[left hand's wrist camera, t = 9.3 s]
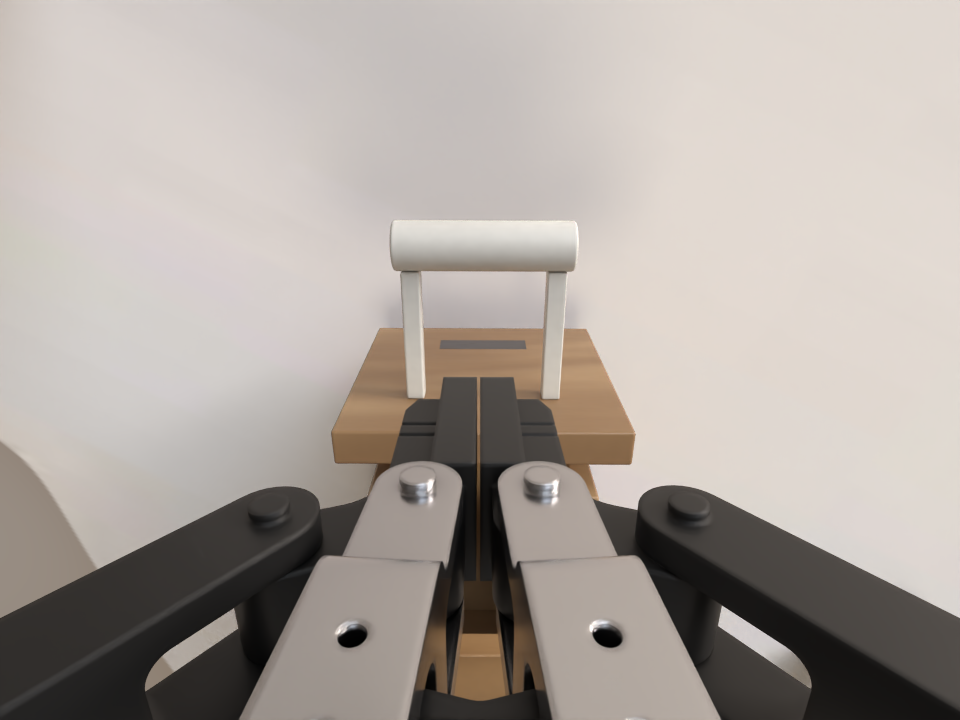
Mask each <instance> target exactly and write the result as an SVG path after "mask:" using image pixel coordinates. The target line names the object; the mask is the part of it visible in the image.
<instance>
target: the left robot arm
mask: <svg viewBox="0 0 960 720" xmlns="http://www.w3.org/2000/svg"><path fill="white" fill-rule="evenodd" d="M476 546H477V377H443V383H442V389H441V396H440V399H418V400H417V401H416V402H414V403H413V404H412V405H411V406H410V407H408V408H407V409H406V410H405V414H404V417H403V421H402V425H401V428H400V432H399V436H398V439H397V443H396V446H395V450H394V453H393V457H392V461H391V464H390V468H389V469H388V470H386V471H385V472H383V473H382V474H381V475H380V476H379V477H378V478H377V480H376V481H375V483H374V485H373V488H372V490H371V492H370V494H369V496H367V497H365V498H363V499H361V500H358V501H355V502H353V503H349V504H345V505H341V506H336V507H331V508H326V509H321V510H320V506H319V501H318V499H317V498H316V496H315V495H314V494H312V493H311V492H309V491H307V490H305V489H301V488H297V487H273V488H267V489H263V490H259V491H256V492H253V493H251V494H248V495H246V496H244V497H242V498H240V499H238V500H236V501H234V502H232V503H230V504H228V505H226V506H224V507H222V508H220V509H218V510H216V511H214V512H212V513H210V514H208V515H206V516H204V517H202V518H200V519H198V520H196V521H194V522H192V523H190V524H188V525H186V526H184V527H182V528H180V529H178V530H176V531H174V532H172V533H170V534H168V535H166V536H164V537H162V538H160V539H158V540H156V541H154V542H152V543H150V544H148V545H146V546H144V547H142V548H140V549H138V550H136V551H134V552H132V553H130V554H128V555H126V556H124V557H122V558H120V559H118V560H116V561H114V562H112V563H110V564H108V565H106V566H104V567H102V568H100V569H98V570H96V571H94V572H92V573H90V574H88V575H86V576H84V577H82V578H80V579H78V580H76V581H74V582H72V583H70V584H68V585H66V586H64V587H62V588H60V589H58V590H56V591H54V592H52V593H50V594H48V595H46V596H44V597H42V598H40V599H38V600H36V601H34V602H32V603H30V604H28V605H26V606H24V607H22V608H20V609H18V610H16V611H14V612H12V613H10V614H8V615H6V616H4V617H2V618H0V720H960V618H958V617H956V616H954V615H952V614H950V613H948V612H946V611H944V610H942V609H940V608H938V607H936V606H934V605H932V604H930V603H928V602H926V601H924V600H922V599H920V598H918V597H916V596H914V595H912V594H910V593H908V592H906V591H904V590H902V589H900V588H898V587H896V586H894V585H892V584H890V583H888V582H886V581H884V580H882V579H880V578H878V577H876V576H874V575H872V574H870V573H868V572H866V571H864V570H862V569H860V568H858V567H856V566H854V565H852V564H850V563H848V562H846V561H844V560H842V559H840V558H838V557H836V556H834V555H832V554H830V553H828V552H826V551H824V550H822V549H820V548H818V547H816V546H814V545H812V544H810V543H808V542H806V541H804V540H802V539H800V538H798V537H796V536H794V535H792V534H790V533H788V532H786V531H784V530H782V529H780V528H778V527H776V526H774V525H772V524H770V523H768V522H766V521H764V520H762V519H760V518H758V517H756V516H754V515H752V514H750V513H748V512H746V511H744V510H742V509H740V508H738V507H736V506H734V505H732V504H730V503H728V502H726V501H724V500H722V499H720V498H718V497H716V496H714V495H712V494H710V493H708V492H705V491H702V490H699V489H695V488H691V487H685V486H675V485H671V486H660V487H656V488H653V489H651V490H649V491H647V492H646V493H644V494H643V495H642V496H641V498H640V500H639V503H638V510H634V509H629V508H624V507H619V506H614V505H610V504H606V503H603V502H600V501H597V500H595V499H593V498H592V497H591V494H590V492H589V490H588V488H587V485H586V483H585V481H584V480H583V478H582V477H581V476H580V475H579V474H578V473H577V472H575V471H574V470H572V469H570V468H568V467H566V463H565V459H564V456H563V452H562V448H561V444H560V441H559V437H558V433H557V429H556V426H555V422H554V418H553V414H552V410H551V409H550V408H548V407H547V406H546V405H545V404H544V403H543V402H541V401H540V400H539V399H517V397H516V390H515V383H514V377H480V581H492V596H493V601H494V603H495V605H496V625H497V632H498V640H499V648H500V656H501V664H502V671H503V679H504V687H505V695H506V696H503V697H499V698H495V699H491V700H485V701H475V700H469V699H465V698H461V697H457V696H454V695H455V687H456V679H457V671H458V664H459V656H460V648H461V640H462V632H463V625H464V581H476ZM722 606H724V607H725V608H727V609H728V610H730V611H732V612H733V613H735V614H736V615H738V616H739V617H741V618H742V619H744V620H745V621H747V622H749V623H750V624H752V625H753V626H755V627H756V628H758V629H759V630H761V631H762V632H764V633H766V634H767V635H769V636H770V637H772V638H773V639H775V640H776V641H778V642H779V643H781V644H783V645H784V646H786V647H787V648H788V649H790V650H791V651H792V652H793V653H794V654H795V655H796V656H797V657H798V658H799V659H800V660H801V661H802V663H803V664H804V665H805V667H806V669H807V670H808V673H809V675H810V678H811V683H812V688H811V689H810V688H808V687H807V686H805V685H804V684H802V683H801V682H799V681H798V680H796V679H795V678H793V677H792V676H790V675H789V674H787V673H786V672H785V671H783V670H782V669H780V668H779V667H777V666H776V665H774V664H773V663H771V662H770V661H768V660H767V659H765V658H764V657H762V656H761V655H760V654H758V653H757V652H755V651H754V650H752V649H751V648H749V647H748V646H746V645H745V644H743V643H742V642H740V641H739V640H738V639H736V638H735V637H733V636H732V635H730V634H729V633H727V632H726V631H724V630H723V629H721V628H720V627H718V622H719V617H720V612H721V607H722ZM233 608H234V609H235V614H236V619H237V624H238V629H237V630H236V631H234V632H233V633H231V634H230V635H228V636H227V637H225V638H224V639H222V640H221V641H220V642H218V643H217V644H215V645H214V646H212V647H211V648H209V649H208V650H206V651H205V652H203V653H202V654H200V655H199V656H197V657H196V658H195V659H193V660H192V661H190V662H189V663H187V664H186V665H184V666H183V667H181V668H180V669H178V670H177V671H175V672H174V673H173V674H171V675H170V676H168V677H167V678H165V679H164V680H162V681H161V682H159V683H158V684H156V685H155V686H153V687H152V688H150V689H149V690H147V691H146V692H145V682H146V679H147V676H148V674H149V672H150V670H151V668H152V667H153V666H154V664H155V663H156V662H157V661H158V659H159V658H160V657H161V656H162V655H164V654H165V653H166V652H167V651H169V650H170V649H171V648H173V647H174V646H176V645H177V644H179V643H181V642H182V641H184V640H185V639H187V638H188V637H190V636H191V635H193V634H194V633H196V632H198V631H199V630H201V629H202V628H204V627H205V626H207V625H208V624H210V623H211V622H213V621H215V620H216V619H218V618H219V617H221V616H222V615H224V614H225V613H227V612H228V611H230V610H232V609H233Z"/></svg>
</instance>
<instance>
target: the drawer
mask: <svg viewBox="0 0 960 720" xmlns="http://www.w3.org/2000/svg"><path fill="white" fill-rule="evenodd" d="M390 256H391V263H392V267H393V269H394V270H395V271H402V272H401V274H400V277H401V295H402V313H403V328H380V329H379V331H378V333H377V335H376V337H375V339H374V342H373V344H372V346H371V348H370V350H369V352H368V354H367V357H366V359H365V361H364V363H363V365H362V367H361V369H360V372H359V374H358V376H357V378H356V380H355V382H354V384H353V387H352V389H351V391H350V393H349V395H348V397H347V399H346V402H345V404H344V406H343V408H342V410H341V412H340V414H339V417H338V419H337V421H336V423H335V425H334V427H333V429H332V432H331V435H332V444H333V452H334V460H335V463H375V464H377V465H376V469H375V472H374V476H373V479H372V482H371V486H370V489H369V492H368V496H369V494H370V492H371V490H372V488H373V485H374V483H375V481H376V480H377V478H378V477H379V476H380V475H381V474H382V473H383V472H385V471H386V470H388V469H389V468H390V464H391V461H392V457H393V453H394V450H395V446H396V443H397V439H398V436H399V432H400V428H401V425H402V421H403V417H404V414H405V410H406V409H407V408H408V407H410V406H411V405H412V404H413V403H414V402H416V401H417V400H418V399H440V396H441V389H442V383H443V377H477V546H476V581H464V625H463V632H462V634H498V632H497V625H496V605H495V603H494V601H493V596H492V581H480V377H514V383H515V390H516V397H517V399H539V400H540V401H541V402H543V403H544V404H545V405H546V406H547V407H548V408H550V409H551V410H552V414H553V418H554V422H555V426H556V429H557V433H558V437H559V441H560V444H561V448H562V452H563V456H564V459H565V463H566V467H568V468H570V469H572V470H574V471H575V472H577V473H578V474H579V475H580V476H581V477H582V478H583V480H584V481H585V483H586V485H587V488H588V490H589V492H590V494H591V497H592V498H593V499H595V500H597V501H599V497H598V494H597V490H596V487H595V484H594V480H593V477H592V474H591V470H590V467H589V464H602V465H630V464H631V463H632V456H633V449H634V441H635V431H634V429H633V427H632V425H631V423H630V421H629V419H628V417H627V414H626V412H625V410H624V408H623V406H622V404H621V402H620V400H619V397H618V395H617V393H616V391H615V389H614V387H613V385H612V383H611V380H610V378H609V376H608V374H607V372H606V370H605V368H604V366H603V363H602V361H601V359H600V357H599V355H598V353H597V351H596V349H595V346H594V344H593V342H592V340H591V338H590V336H589V334H588V332H587V329H564V320H565V305H566V290H567V275H568V274H567V272H571V271H574V269H575V267H576V264H577V258H578V227H577V224H576V222H575V221H527V220H394V221H393V222H392V224H391V228H390ZM421 271H547V272H546V291H545V311H544V329H475V328H423V307H422V282H421Z"/></svg>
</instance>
